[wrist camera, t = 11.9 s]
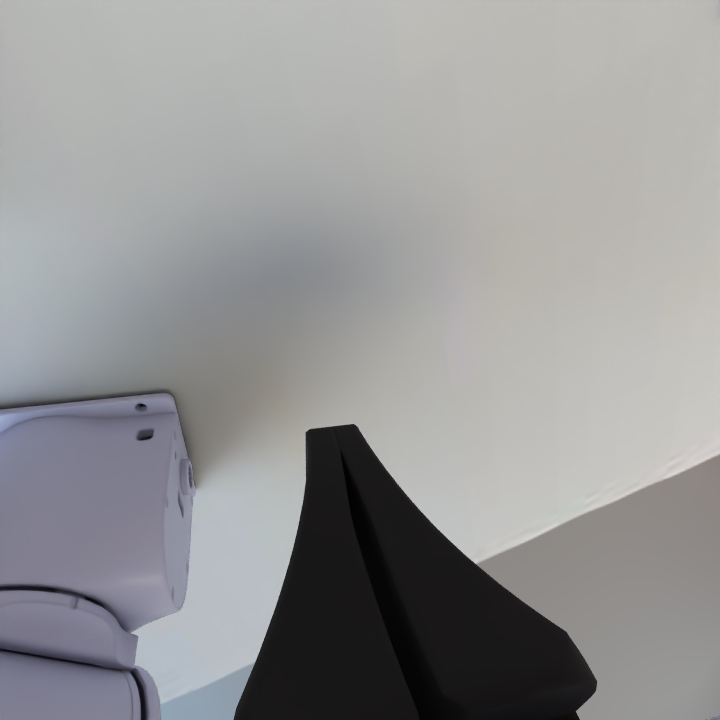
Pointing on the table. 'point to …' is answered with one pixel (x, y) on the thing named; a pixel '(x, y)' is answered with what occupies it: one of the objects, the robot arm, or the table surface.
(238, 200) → the table surface
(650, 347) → the table surface
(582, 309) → the table surface
